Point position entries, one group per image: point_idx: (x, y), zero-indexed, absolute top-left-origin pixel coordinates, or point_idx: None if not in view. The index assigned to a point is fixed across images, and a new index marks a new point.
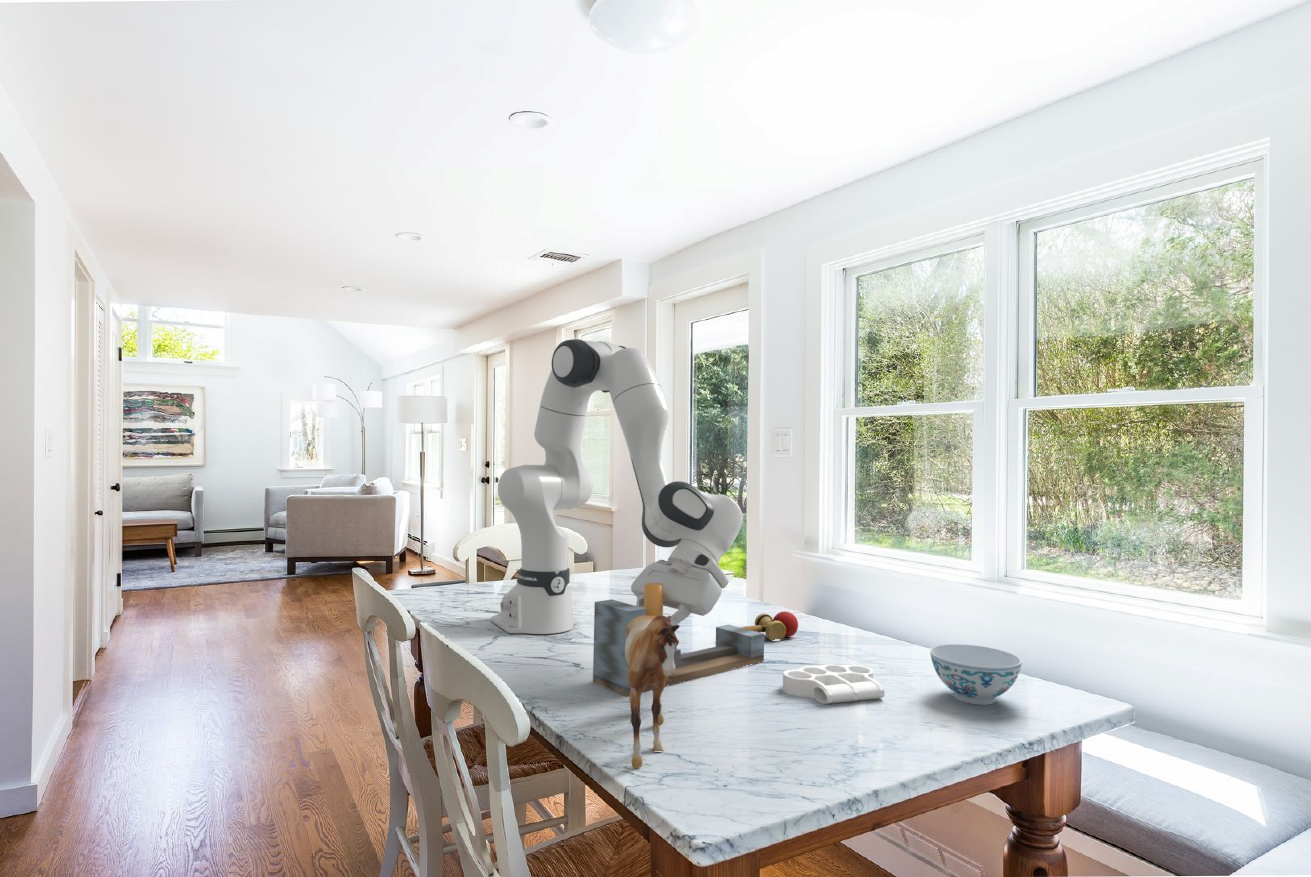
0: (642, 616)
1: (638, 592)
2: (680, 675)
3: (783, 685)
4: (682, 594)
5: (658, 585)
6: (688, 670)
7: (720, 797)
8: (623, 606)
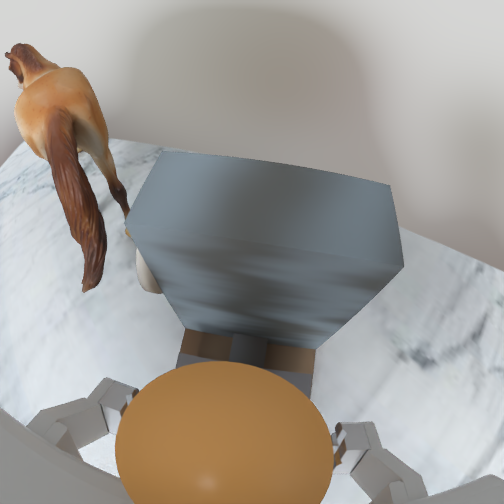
0: (53, 70)
1: (443, 493)
2: None
3: None
4: (22, 466)
5: (142, 444)
6: None
7: (21, 165)
8: (236, 189)
